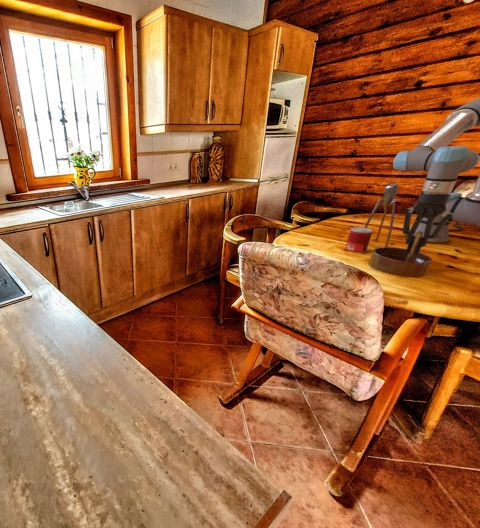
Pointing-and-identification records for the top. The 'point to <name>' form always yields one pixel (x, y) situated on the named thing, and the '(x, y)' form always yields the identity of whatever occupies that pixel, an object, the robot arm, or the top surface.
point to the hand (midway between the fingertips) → (412, 252)
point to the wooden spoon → (414, 246)
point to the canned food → (358, 239)
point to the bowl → (399, 262)
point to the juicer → (388, 198)
